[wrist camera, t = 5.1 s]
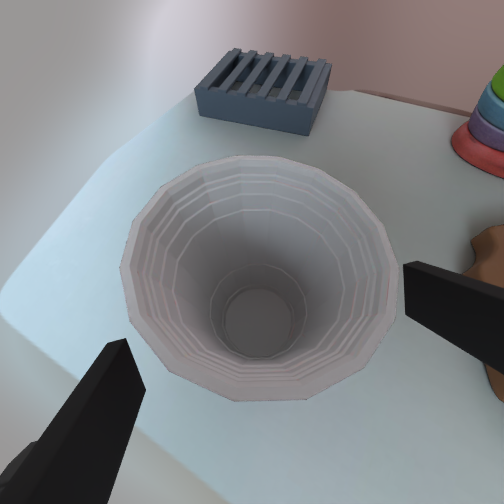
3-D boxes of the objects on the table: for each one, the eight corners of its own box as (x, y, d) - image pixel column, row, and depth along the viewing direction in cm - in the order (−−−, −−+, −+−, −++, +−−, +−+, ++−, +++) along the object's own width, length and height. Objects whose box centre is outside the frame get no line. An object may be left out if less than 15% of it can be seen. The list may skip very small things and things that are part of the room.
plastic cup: (327, 414, 16) (445, 447, 6) (175, 382, 18) (55, 363, 7) (329, 271, 22) (393, 159, 11) (213, 254, 23) (176, 139, 13)
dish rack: (199, 115, 35) (193, 85, 32) (231, 76, 41) (228, 47, 37) (308, 136, 32) (314, 104, 28) (326, 91, 37) (333, 60, 34)
